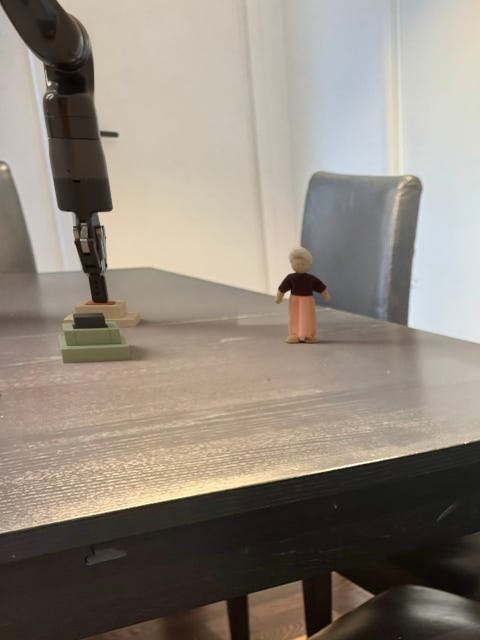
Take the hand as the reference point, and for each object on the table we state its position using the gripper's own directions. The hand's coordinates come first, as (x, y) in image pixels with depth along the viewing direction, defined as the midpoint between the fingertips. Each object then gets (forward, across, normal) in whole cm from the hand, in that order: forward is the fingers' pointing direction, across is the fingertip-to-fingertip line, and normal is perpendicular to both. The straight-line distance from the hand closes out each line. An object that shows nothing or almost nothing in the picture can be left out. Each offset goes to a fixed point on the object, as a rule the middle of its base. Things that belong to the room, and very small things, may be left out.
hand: (100, 302), depth 139 cm
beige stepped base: (+3, 0, 0) cm, 3 cm away
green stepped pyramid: (+3, +26, +2) cm, 26 cm away
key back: (+2, 0, 0) cm, 2 cm away
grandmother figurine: (+3, +18, +30) cm, 35 cm away
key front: (0, +26, +2) cm, 26 cm away
